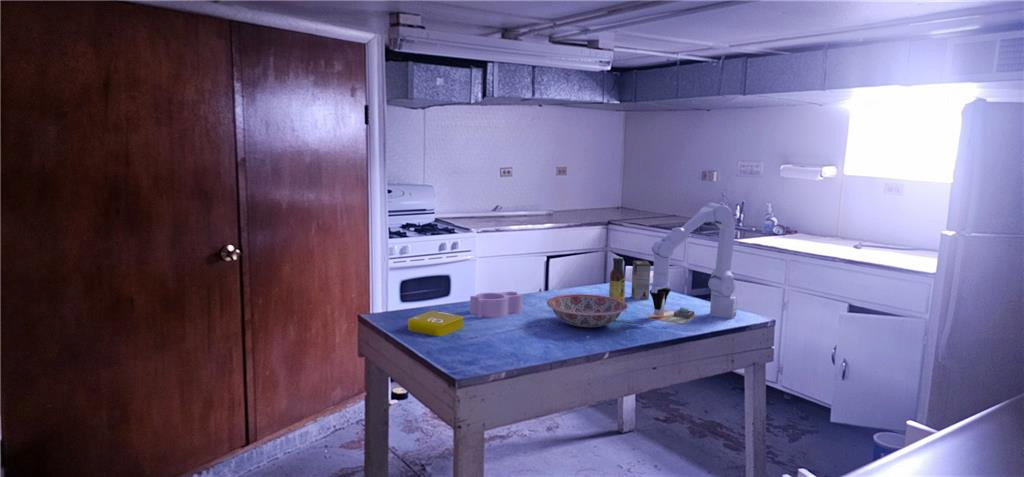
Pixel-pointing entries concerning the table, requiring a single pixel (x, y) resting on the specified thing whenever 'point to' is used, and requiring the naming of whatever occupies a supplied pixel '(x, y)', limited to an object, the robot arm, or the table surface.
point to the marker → (661, 311)
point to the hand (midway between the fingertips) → (659, 308)
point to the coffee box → (640, 280)
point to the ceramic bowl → (586, 309)
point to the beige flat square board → (670, 318)
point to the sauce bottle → (617, 280)
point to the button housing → (683, 314)
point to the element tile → (435, 323)
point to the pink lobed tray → (495, 304)
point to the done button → (684, 310)
